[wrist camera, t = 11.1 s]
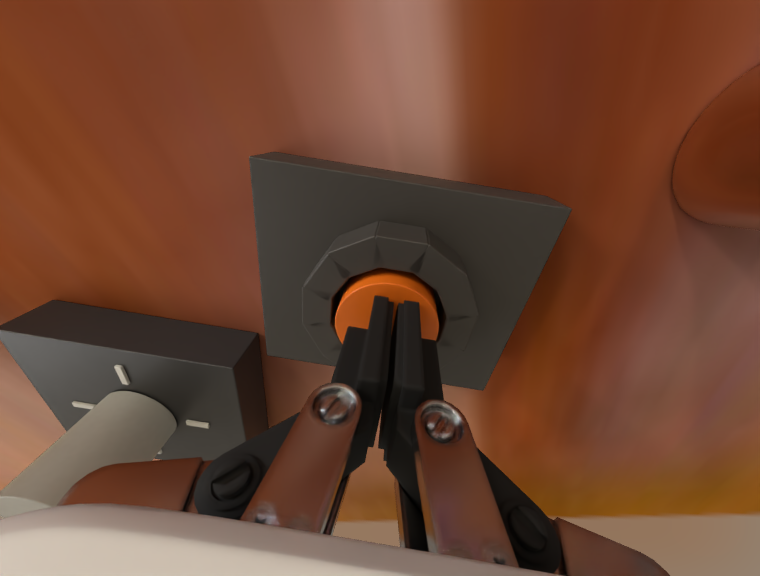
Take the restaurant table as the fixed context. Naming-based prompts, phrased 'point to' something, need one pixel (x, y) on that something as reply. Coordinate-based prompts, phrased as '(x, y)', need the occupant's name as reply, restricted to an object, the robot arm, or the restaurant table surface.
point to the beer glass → (723, 159)
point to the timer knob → (91, 450)
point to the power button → (385, 284)
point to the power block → (396, 254)
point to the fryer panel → (145, 371)
